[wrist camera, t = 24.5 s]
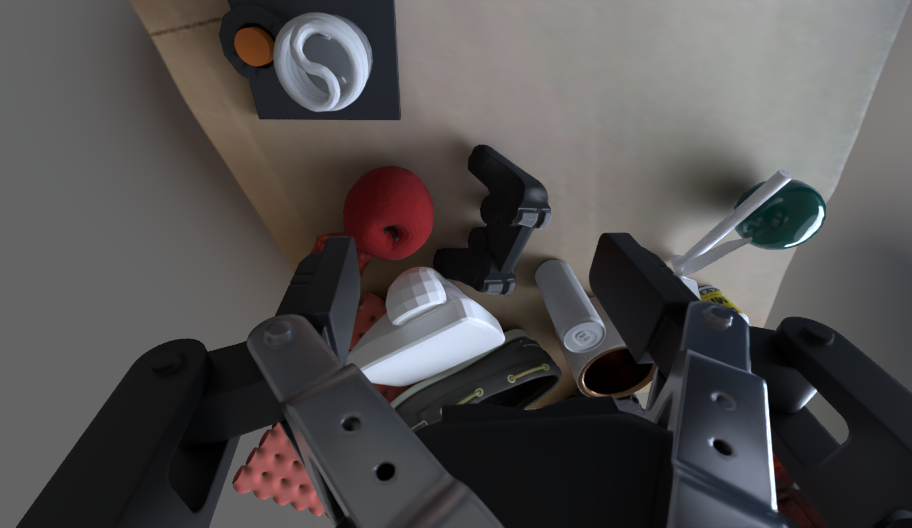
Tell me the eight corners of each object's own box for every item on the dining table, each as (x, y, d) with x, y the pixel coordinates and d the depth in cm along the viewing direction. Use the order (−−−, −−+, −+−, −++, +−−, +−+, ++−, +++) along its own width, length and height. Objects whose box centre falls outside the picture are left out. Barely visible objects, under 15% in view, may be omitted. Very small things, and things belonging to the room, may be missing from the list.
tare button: (247, 63, 31) (239, 66, 30) (237, 26, 29) (229, 27, 28) (279, 64, 31) (273, 66, 30) (271, 27, 30) (265, 28, 28)
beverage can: (549, 292, 51) (580, 359, 41) (525, 274, 49) (553, 341, 39) (576, 269, 49) (616, 334, 39) (553, 250, 47) (589, 314, 37)
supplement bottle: (713, 279, 52) (758, 320, 45) (721, 298, 55) (765, 340, 48) (680, 297, 54) (719, 339, 47) (690, 315, 56) (728, 358, 49)
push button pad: (256, 115, 35) (244, 123, 33) (212, -47, 29) (193, -53, 26) (400, 116, 37) (399, 124, 34) (392, -40, 30) (389, -45, 27)
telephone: (519, 346, 49) (494, 286, 53) (459, 305, 32) (430, 222, 36) (418, 392, 52) (402, 331, 57) (315, 377, 35) (305, 293, 40)
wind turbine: (841, 187, 38) (693, 297, 54) (711, 139, 38) (600, 265, 53) (858, 210, 36) (698, 319, 51) (719, 159, 35) (601, 285, 51)
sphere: (716, 237, 48) (763, 273, 41) (716, 184, 44) (769, 215, 37) (781, 214, 47) (840, 247, 40) (788, 157, 42) (856, 183, 36)
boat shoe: (333, 446, 45) (355, 513, 39) (510, 301, 50) (555, 338, 44) (380, 476, 52) (405, 536, 46) (531, 346, 58) (572, 383, 51)
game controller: (468, 261, 50) (513, 312, 44) (425, 265, 46) (468, 321, 40) (516, 146, 42) (581, 188, 36) (469, 137, 38) (533, 184, 31)
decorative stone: (305, 246, 44) (287, 287, 37) (334, 205, 41) (320, 241, 35) (353, 272, 47) (344, 314, 40) (383, 234, 44) (378, 273, 37)
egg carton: (232, 478, 45) (230, 490, 44) (367, 289, 48) (370, 293, 46) (408, 533, 57) (412, 544, 56) (508, 379, 60) (515, 385, 58)
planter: (540, 318, 54) (561, 372, 46) (609, 279, 51) (644, 329, 43) (573, 357, 59) (597, 410, 51) (637, 324, 56) (673, 375, 48)
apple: (360, 143, 38) (343, 180, 29) (444, 170, 40) (451, 211, 32) (343, 220, 42) (324, 271, 34) (419, 240, 45) (419, 293, 36)
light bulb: (388, 76, 33) (376, 104, 23) (330, 95, 34) (294, 130, 24) (363, 2, 30) (335, -3, 20) (299, 24, 31) (242, 31, 21)
